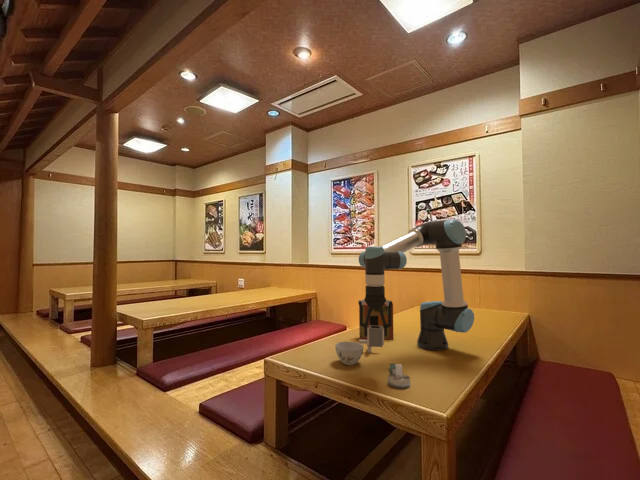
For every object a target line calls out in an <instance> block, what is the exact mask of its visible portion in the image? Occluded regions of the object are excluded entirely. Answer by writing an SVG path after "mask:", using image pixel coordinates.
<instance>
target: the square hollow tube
mask: <svg viewBox="0 0 640 480" xmlns="http://www.w3.org/2000/svg"><path fill="white" fill-rule="evenodd" d="M369 347H371V348H372V347H373V348H374V347H375V348H383V345H382V326H371V325H369Z"/></svg>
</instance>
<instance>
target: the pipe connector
mask: <svg viewBox="0 0 640 480" xmlns="http://www.w3.org/2000/svg"><path fill="white" fill-rule="evenodd" d="M358 343H359V344H364V345H365V344H366V346H367V353H368V354H371V353H372V347H369V345H367V340H362V339H358Z"/></svg>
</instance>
